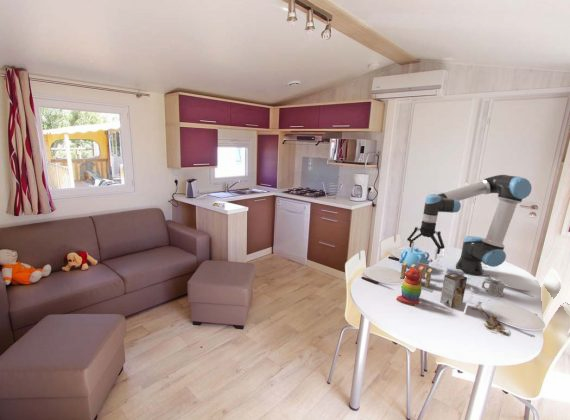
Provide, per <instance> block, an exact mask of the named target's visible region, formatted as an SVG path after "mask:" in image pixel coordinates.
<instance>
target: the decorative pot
mask: <svg viewBox="0 0 570 420" xmlns="http://www.w3.org/2000/svg"><path fill="white" fill-rule="evenodd" d="M410 250H411V247H408V248H407V247H406V249H405V250H402V251H401V252H400V258H399V261H398V263H400V264H403V263H404V262H407V269H408V270H409V269H410V266H411V265H412V264H415V268H417V263H418V262H420V263H424V264H427V265H428V264H429V263H430V262H429V258H430V253H429V252H427V251H423V250H421V249H419V248H418V247H414V246H413V252H412V253H410Z"/></svg>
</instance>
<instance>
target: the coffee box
mask: <svg viewBox="0 0 570 420" xmlns="http://www.w3.org/2000/svg"><path fill="white" fill-rule="evenodd" d="M467 280H468V277H467V276H465V275H463V276H462V275H460V274H457V273H453V274H449V275H446V274H445V275H444V277H443V283H442V290H441V295H440V300H439V302H440V303H441V304H442V305H444V306H446V307H447V308H450V309H453V308H456V307H459V306H463V302H464V296H465V291H466V286H467Z"/></svg>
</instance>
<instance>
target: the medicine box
mask: <svg viewBox="0 0 570 420" xmlns="http://www.w3.org/2000/svg"><path fill="white" fill-rule="evenodd" d="M453 273H457V274H460V275H462V276H465V273H464V272H463V271H462V270H460V269H456V268H446V273H445V275H449V274H453Z"/></svg>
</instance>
